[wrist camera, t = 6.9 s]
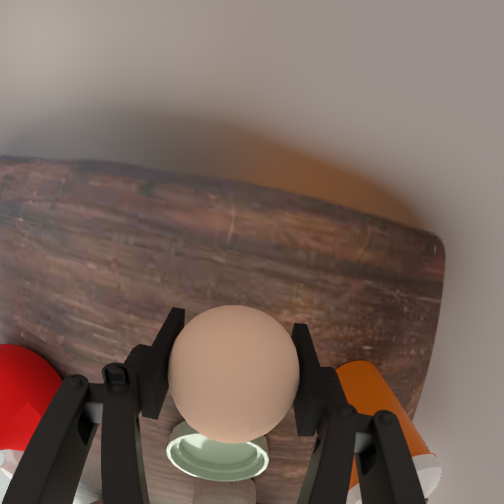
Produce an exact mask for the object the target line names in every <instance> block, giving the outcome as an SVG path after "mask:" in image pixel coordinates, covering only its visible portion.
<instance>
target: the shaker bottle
mask: <svg viewBox="0 0 504 504" xmlns="http://www.w3.org/2000/svg"><path fill="white" fill-rule="evenodd" d="M335 371H336V372H337V374H338V377H339V381H340V382H341V386H342V388H343V390H344V393H345V396H346V398H347V401H348V403H349V404H351V405H353V406H354V407H355V408H356V409H357V412H358V413H361V414H365V415H371V416H374V414H375V413H376V412H377V411H379V410H388V411H391V412H393V413H394V414H395V415H396V416H397V418H398V420H399V422H400V425H401V428H402V430H403V433H404V436H405V439H406V442H407V444H408V447H409V450H410V453H411V456H412V459H413V462H414V465H415V468H416V471H417V474H418V477H419V481H420V484H421V487H422V491H423V494H424V497H425V501H426V504H427V502H428V498H426V497H427V496H428V495H429V494H430V493H431V492H432V491H433V490H434V489H435V488H436V486H437V485H438V483H439V481H440V478H441V474H442V468H441V466H440V464H439V462H438V460H437V457H436V455H434V454H433V453H431V452H430V450H429V449H428V447H427V446H426V444H425V442H424V441H423V439H422V437H421V436H420V434H419V433H418V431H417V430H416V428H415V426H414V425H413V423H412V421H411V420H410V418H409V417H408V415H407V414H406V412H405V411H404V409H403V407H402V406H401V404H400V403H399V401H398V400H397V398H396V397H395V395H394V394H393V392H392V390H391V389H390V387H389V386H388V384H387V383H386V381H385V380H384V378H383V377H382V375H381V374H380V372H379V371H378V369H377V368H376V366H375V365H374V364H372V363H371V362H369V361H364V360H358V361H352V362H349V363H346V364H344V365H342V366H340V367H339V368H337V369H336V370H335ZM346 502H347V504H362V500H361V493H360V486H359V480H358V474H357V468H356V462H355V456H354V458H353V465H352V472H351V478H350V485H349V490H348V496H347V501H346Z"/></svg>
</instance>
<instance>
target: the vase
mask: <svg viewBox="0 0 504 504" xmlns="http://www.w3.org/2000/svg"><path fill="white" fill-rule="evenodd" d="M62 382H63V381H62V379H61V378H60V376H59V374H58V373H57V372H56V371H55V369H54V368H53V367H52V366H51V365H50V364H49V363H48V362H47V361H46V360H45V359H44V358H42V357H41V356H40V355H38V354H36V353H34V352H33V351H31V350H29V349H27V348H25V347H21V346H17V345H12V344H1V345H0V450H7V449H10V450H17V451H25V449H26V447H27V445H28V443H29V441H30V439H31V437H32V435H33V433H34V431H35V429H36V427H37V426H38V424H39V422H40V420H41V418H42V416H43V415H44V413H45V411H46V409H47V407H48V406H49V404H50V402H51V400H52V399H53V397H54V395H55V393H56V392H57V390H58V388H59V387H60V385H61V383H62Z"/></svg>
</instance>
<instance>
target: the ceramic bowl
mask: <svg viewBox="0 0 504 504" xmlns="http://www.w3.org/2000/svg"><path fill="white" fill-rule="evenodd" d="M90 504H103V500H98V501H95V502H93V503H90Z"/></svg>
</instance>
